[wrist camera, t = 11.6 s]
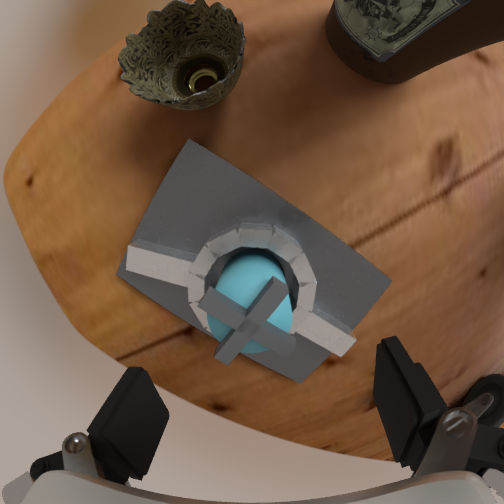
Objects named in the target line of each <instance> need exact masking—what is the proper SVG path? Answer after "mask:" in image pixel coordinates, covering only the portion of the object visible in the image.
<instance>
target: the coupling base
mask: <svg viewBox="0 0 504 504" xmlns="http://www.w3.org/2000/svg"><path fill="white" fill-rule="evenodd" d="M246 250H260V251H264V252H266V253H268V254H270V255H272V256H273V257H274V258H276V259H277V260H278V262H279V263H280V264H281V266H282V268H283V270H284V274H285V279H286V284H287V285H288V290H289V299H290V304H291V309H292V316H293V319H292V325H291V328H290V331H289V333H288V334H290V335H292V336H294V337H295V338H296V344H297V348H296V349H295V350H294V351H293V352H292V353H291V354H290V355H289V356H288V357H287V358H285V357H283V356H281V355H280V354H278V353H276V352H274V351H272V350H270V349H269V350H267V351H263V352H259V353H243V352H239V353H241V354H243V355H245V356H247V357H248V358H250V359H252V360H254V361H256V362H258V363H260V364H262V365H264V366H266V367H268V368H270V369H272V370H274V371H276V372H278V373H280V374H282V375H284V376H286V377H288V378H290V379H292V380H294V381H296V382H299V383H302V382H303V381H304V380H305V379H306V378H307V377H308V376H309V375H310V374H311V373H312V372H313V371H314V370H315V369H316V368H317V367H318V366H319V365H320V364H321V363H322V362H323V361H324V360H325V359H326V358H327V357H328V356H329V355H330V354H331V353H332V352H333V353H335V354H336V355H338V356H340V357H342V356H343V355H344V354H345V353H346V352H347V350H348V349H349V348H350V347H351V346H352V345H353V344H354V343H355V342H356V341H357V339H356V337H355V335H354V334H353V332H352V330H353V329H354V328H355V326H356V325H357V324H358V323H359V322H360V321H361V320H362V318H363V317H364V316H365V315H366V314H367V312H368V311H369V310H370V309H371V308H372V306H373V305H374V304H375V303H376V301H377V300H378V299H379V298H380V296H381V295H382V294H383V293H384V291H385V290H386V289H387V287H388V286H389V285H390V283H391V282H392V280H391V279H390V278H389V277H388V276H386V275H385V274H384V273H383V272H382V271H380V270H379V269H378V268H377V267H375V266H374V265H373V264H372V263H370V262H369V261H368V260H367V259H365V258H364V257H363V256H361V255H360V254H359V253H358V252H356V251H355V250H354V249H352V248H351V247H350V246H348V245H347V244H346V243H345V242H343V241H342V240H341V239H339V238H338V237H337V236H335V235H334V234H333V233H331V232H330V231H329V230H327V229H326V228H324V227H323V226H322V225H320V224H319V223H318V222H316V221H315V220H313V219H312V218H311V217H309V216H308V215H307V214H305V213H304V212H302V211H301V210H299V209H298V208H297V207H295V206H294V205H292V204H291V203H289V202H288V201H287V200H285V199H284V198H282V197H281V196H279V195H278V194H276V193H275V192H273V191H272V190H271V189H269V188H268V187H266V186H265V185H263V184H262V183H260V182H259V181H257V180H256V179H254V178H252V177H251V176H249V175H248V174H246V173H245V172H243V171H242V170H240V169H239V168H237V167H235V166H234V165H232V164H231V163H229V162H228V161H226V160H224V159H223V158H221V157H220V156H218V155H216V154H215V153H213V152H211V151H210V150H208V149H207V148H205V147H203V146H202V145H200V144H198V143H197V142H195V141H193V140H191V139H188V140H187V142H186V143H185V145H184V146H183V148H182V150H181V151H180V153H179V154H178V156H177V158H176V159H175V161H174V163H173V164H172V166H171V168H170V169H169V171H168V173H167V174H166V176H165V178H164V180H163V181H162V183H161V185H160V187H159V188H158V190H157V192H156V194H155V196H154V197H153V199H152V201H151V203H150V205H149V207H148V209H147V211H146V212H145V214H144V216H143V218H142V220H141V222H140V224H139V226H138V228H137V230H136V232H135V234H134V236H133V238H132V240H131V242H130V244H129V245H128V249H127V251H126V253H125V255H124V258H123V260H122V262H121V264H120V266H119V269H118V271H117V273H116V275H118V276H119V277H121V278H122V279H123V280H125V281H126V282H127V283H129V284H130V285H132V286H133V287H135V288H136V289H137V290H139V291H140V292H142V293H143V294H145V295H146V296H148V297H149V298H150V299H152V300H153V301H155V302H156V303H158V304H159V305H161V306H162V307H164V308H166V309H167V310H169V311H170V312H172V313H173V314H175V315H176V316H178V317H180V318H181V319H183V320H184V321H186V322H188V323H189V324H191V325H192V326H194V327H196V328H197V329H199V330H201V331H202V332H204V333H206V334H207V335H209V336H211V337H213V338H214V339H216V338H215V336H214V335H213V334H212V332H211V330H210V328H209V325H208V321H207V312H205V311H203V310H202V309H200V308H199V307H197V306H198V304H199V302H200V300H201V298H202V296H203V295H204V293H205V292H206V290H207V289H208V288H209V286H211V287H213V288H214V289H215V288H216V286H217V283H218V281H219V278H220V276H221V273H222V271H223V268H224V266H225V264H226V263H227V262H228V260H229V259H230V258H231V257H233V256H234V255H236V254H237V253H239V252H242V251H246ZM216 340H217V339H216Z"/></svg>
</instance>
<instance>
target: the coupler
mask: <svg viewBox="0 0 504 504" xmlns="http://www.w3.org/2000/svg"><path fill="white" fill-rule="evenodd" d="M197 307H199V308H200V309H202V310H203V311H205V312H207V321H208V325H209V328H210V330H211V332H212V334H213V335H214V336H215V338H216V339H217V340H218V341H219V342H221V343H220V344H219V345H218V346H217V348H216V351H215V354H214V358H215V359H217V360H219V361H221V362H222V363H224V364H226V365H229V364H230V363H231V361H232V360H233V359H234V358H235V357H236V356H237V355H238V353H239V352H243V353H259V352H263V351H267V350H269V349H270V350H272V351H274V352H276V353H278V354H280V355H281V356H283V357H285V358H287V357H288V356H289V355H290V354H291V353H292V352H293V351H294V350H295V349H296V348H297V344H296V338H295V337H294V336H292V335H290V334H288V333H289V331H290V328H291V325H292V319H293V316H292V309H291V304H290V299H289V290H288V285H287V284H286V279H285V274H284V270H283V268H282V266H281V264H280V263H279V262H278V260H277V259H276V258H274V257H273V256H272V255H270V254H268V253H266V252H264V251H260V250H246V251H242V252H239V253H237V254H236V255H234V256H233V257H231V258H230V259H229V260H228V262H227V263H226V264H225V266H224V268H223V271H222V273H221V276H220V278H219V281H218V283H217V286H216V288H215V289H214V288H213V287H211V286H209V288H208V289H207V290H206V292H205V293H204V295H203V296H202V298H201V300H200V302H199V304H198V306H197Z"/></svg>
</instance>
